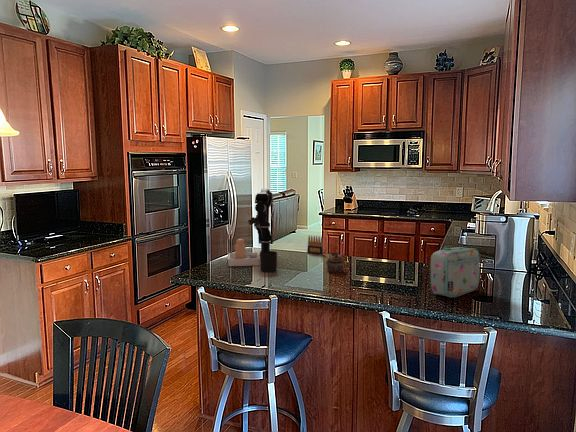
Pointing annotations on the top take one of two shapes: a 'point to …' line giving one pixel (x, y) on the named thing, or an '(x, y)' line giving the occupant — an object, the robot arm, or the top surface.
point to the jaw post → (240, 249)
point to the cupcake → (334, 262)
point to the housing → (248, 261)
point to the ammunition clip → (315, 245)
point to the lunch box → (455, 271)
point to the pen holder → (268, 261)
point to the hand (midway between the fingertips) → (261, 238)
